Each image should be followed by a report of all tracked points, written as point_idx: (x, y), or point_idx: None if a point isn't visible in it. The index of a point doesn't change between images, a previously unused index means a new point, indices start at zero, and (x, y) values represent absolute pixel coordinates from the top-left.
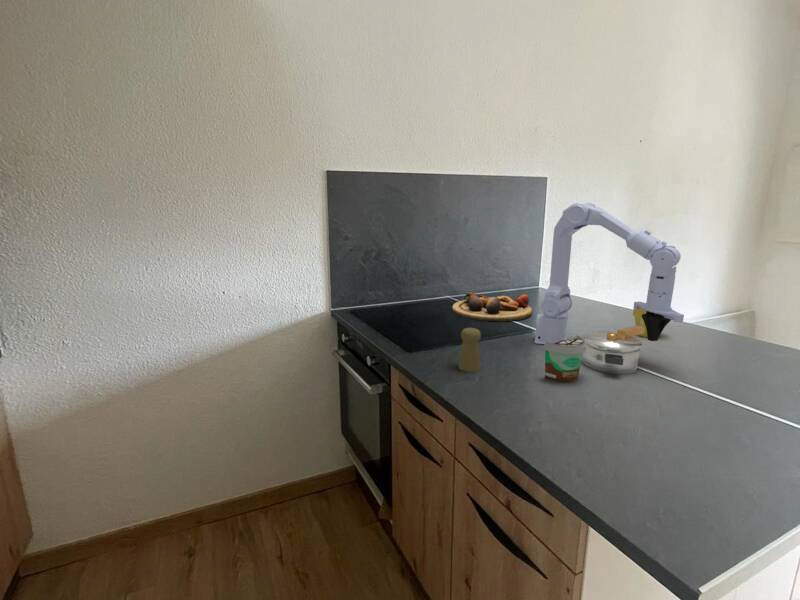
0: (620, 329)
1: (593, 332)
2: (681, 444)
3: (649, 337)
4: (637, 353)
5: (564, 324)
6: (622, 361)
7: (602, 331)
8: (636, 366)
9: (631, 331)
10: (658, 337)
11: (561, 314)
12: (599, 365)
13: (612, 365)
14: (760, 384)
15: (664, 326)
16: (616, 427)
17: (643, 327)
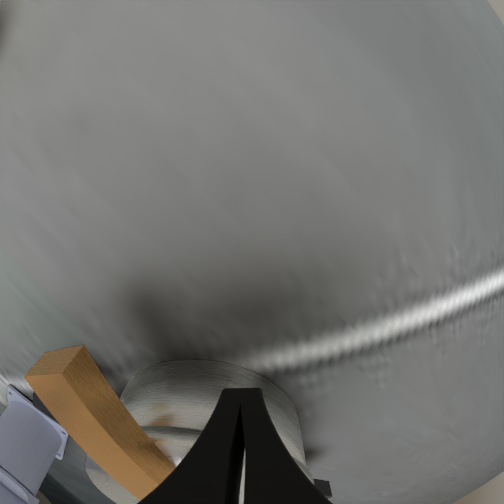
0: (133, 493)
1: (110, 493)
2: (493, 437)
3: (244, 443)
4: (299, 456)
5: (28, 468)
6: (329, 492)
7: (89, 470)
8: (286, 405)
9: (151, 474)
10: (265, 406)
11: (20, 496)
12: None
13: None
14: (479, 49)
15: (307, 483)
16: (433, 482)
17: (58, 377)
